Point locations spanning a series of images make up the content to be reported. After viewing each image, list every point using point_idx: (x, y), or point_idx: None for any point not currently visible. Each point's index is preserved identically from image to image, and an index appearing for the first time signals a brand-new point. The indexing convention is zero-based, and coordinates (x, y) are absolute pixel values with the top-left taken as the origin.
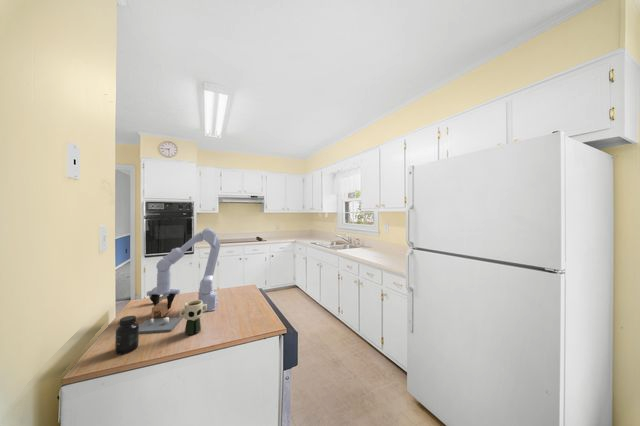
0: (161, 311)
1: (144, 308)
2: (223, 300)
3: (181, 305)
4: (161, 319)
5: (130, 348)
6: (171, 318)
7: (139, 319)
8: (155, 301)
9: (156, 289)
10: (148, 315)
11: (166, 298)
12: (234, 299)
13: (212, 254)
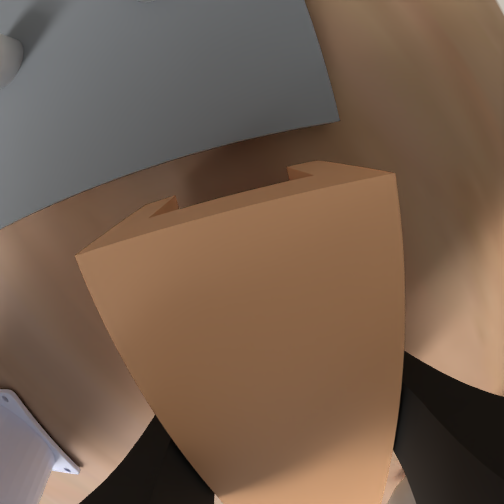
0: (143, 216)
1: (489, 382)
2: (44, 495)
3: None
4: (122, 138)
5: None
6: (24, 194)
7: (454, 180)
8: (452, 429)
9: None
10: (423, 287)
11: (393, 502)
12: None
13: None
